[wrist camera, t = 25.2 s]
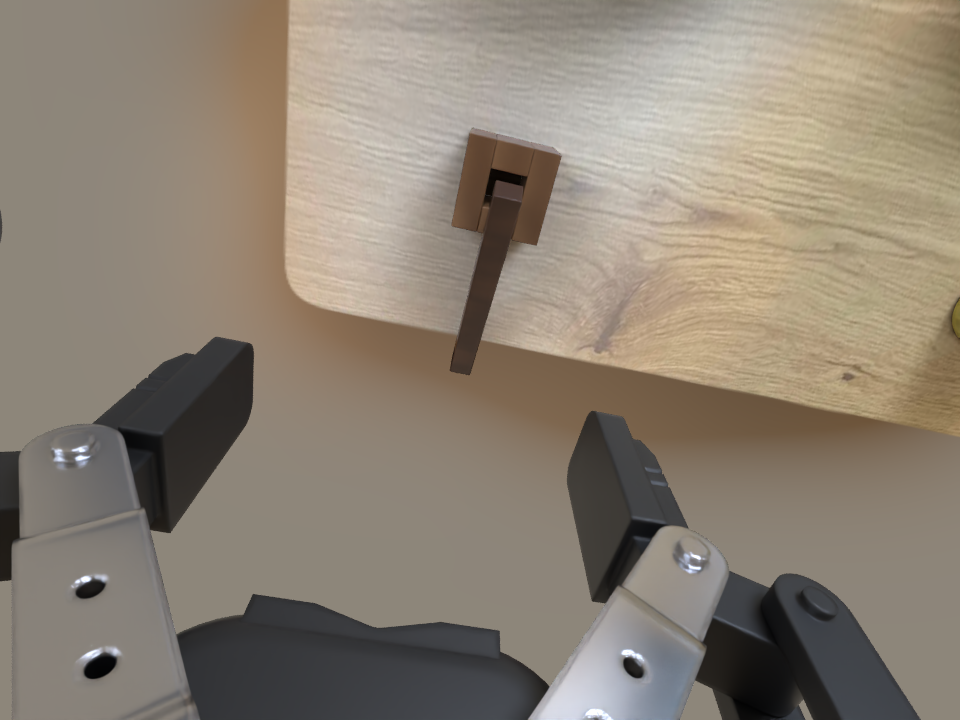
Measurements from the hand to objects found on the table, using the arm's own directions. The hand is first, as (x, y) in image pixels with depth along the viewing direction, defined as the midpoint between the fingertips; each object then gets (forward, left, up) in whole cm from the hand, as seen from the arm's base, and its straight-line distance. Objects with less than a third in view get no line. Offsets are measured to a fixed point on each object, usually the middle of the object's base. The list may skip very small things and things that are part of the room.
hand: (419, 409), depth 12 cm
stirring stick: (+2, +2, -19) cm, 19 cm away
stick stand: (+2, +2, -25) cm, 25 cm away
